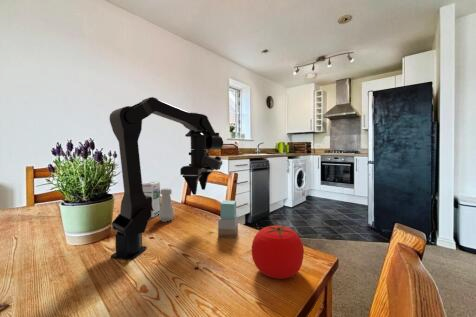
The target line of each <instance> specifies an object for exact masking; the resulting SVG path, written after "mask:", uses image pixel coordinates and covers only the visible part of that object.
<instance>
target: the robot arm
mask: <svg viewBox="0 0 476 317" xmlns="http://www.w3.org/2000/svg"><path fill="white" fill-rule="evenodd" d="M152 114H153V115H156V116H158V117H161V118H164V119H167V120H170V121H173V122H176V123H179V124H181V125H182V126H183V127H184V128H186V129H187V130H188V132H187V133H185V137H187V138H190V152H188V156H190V163H189V164H188V165H183V166H181V168H180V175H179V176H182V178H184V180H185V182H186V183H187V186H188V188H189V190H190V192H191V194H192V195H194V196H195V195H197V193H198V184H200V188H201V190H203V191H206V187H207V183H208V179H209V176H210V175H211V174H212V173H213V171H218V170H221V167H222V165H223V160H222V157H221V156H218V155H216V156H215V157H212V156H210V153H209V152H208V151H209V150H211V151H213V150H216V151H217V150H221V149H223V146H224V140H223V138H222V137H221V136H220V132H216V131H215V130H214V127H213V126H212V124H211V122H210V121H209V117H208V116H207V115H206V114H204V113H199V112H188V111H186V110H183V109H181V108H179V107H176V106H173V105H171V104H169V103H167V102H165V101H162V100H159V99H158V98H157V97H154V96H149V97H147V98H145V99H142V100H141V101H140V102H138V103H136V104H134V105H131V106H130V105H128V106H123V107H120V108H118V109H115V110H113V111H111V112H110V114H109V123H110V127H111V130H112V132H113V134H114V136H115V138H116V140H117V142H118V146H119V156H120V164H121V175H122V182H123V183H122V184H123V191H124V193H123V196H122V199H121V203H120V213H119V214H118V215H117V216H116V217H115V218H114V220H113V221H112V222H111V224H110V225H111V228H112V229H113V230H114V231H117V232H116V234H115V252H114V253H112V254H111V255H110V258H111V259H112V258H113V259H123V260H133V259H135V258H136V257H138V256H139V255H140V254H141V253H143V252H144V251H146V249H147V248H148V247H147V246H145V245H144V246H143V233H145V231H146V228H147V225H148V223H149V220H150V219H151V218H152V217H151V214H152V212H151V211H154V210H153V208H152V197H150V196H146V195H145V194H144V192H143V187H142V184H143V178H142V169H141V168H142V167H141V159H140V158H141V157H140V148H139V138H140V136H141V133H142V130H143V129H142V128H143V120H144V119H146V118H149V116H151V115H152ZM207 150H208V151H207Z"/></svg>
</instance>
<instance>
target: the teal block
mask: <svg viewBox="0 0 476 317" xmlns="http://www.w3.org/2000/svg"><path fill="white" fill-rule="evenodd" d="M219 206H220V208H219V209H220V213H219V214H220V217H221V219H235V217H236V215H237V200H225V199H224V200H222V201H221V202H220V204H219Z"/></svg>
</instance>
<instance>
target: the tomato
mask: <svg viewBox="0 0 476 317" xmlns="http://www.w3.org/2000/svg"><path fill="white" fill-rule="evenodd" d="M304 249H305V248H304V244H303V241H302V240H301V237H300V236H299V234H298V233H297V232H296V231H294V229H292V228H289V227H287V226H285V225H280V224H278V225H269V226H268V225H267V226H265V227H263V228H261V229H259V230H258V232H257V233H256V234H255V236H254V237H253V240H252V245H251V257H252V260H253V262H254V265H255V266H256V268H257V269H258V270H259V272H261V274H264V275H265V276H267V277H268V278H269V277H270V278H272V279H275V280H276V279H277V280H283V279H284V280H285V279H288V278H291V277H293V276H295V275H296V274H297V273H298V272H299V271H300V270H301V267H302V264H303V260H304V251H305V250H304Z"/></svg>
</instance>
